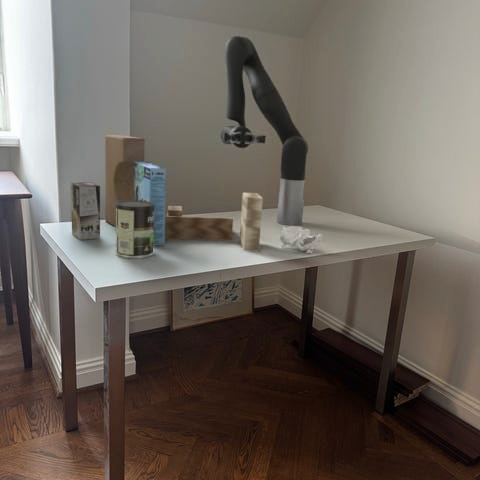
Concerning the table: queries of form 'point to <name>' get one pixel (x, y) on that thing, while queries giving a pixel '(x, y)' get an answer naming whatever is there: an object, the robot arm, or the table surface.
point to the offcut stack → (174, 211)
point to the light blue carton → (152, 194)
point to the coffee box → (85, 210)
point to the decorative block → (121, 170)
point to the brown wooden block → (198, 228)
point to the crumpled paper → (299, 238)
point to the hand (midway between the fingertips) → (247, 138)
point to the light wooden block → (251, 221)
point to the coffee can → (134, 228)
